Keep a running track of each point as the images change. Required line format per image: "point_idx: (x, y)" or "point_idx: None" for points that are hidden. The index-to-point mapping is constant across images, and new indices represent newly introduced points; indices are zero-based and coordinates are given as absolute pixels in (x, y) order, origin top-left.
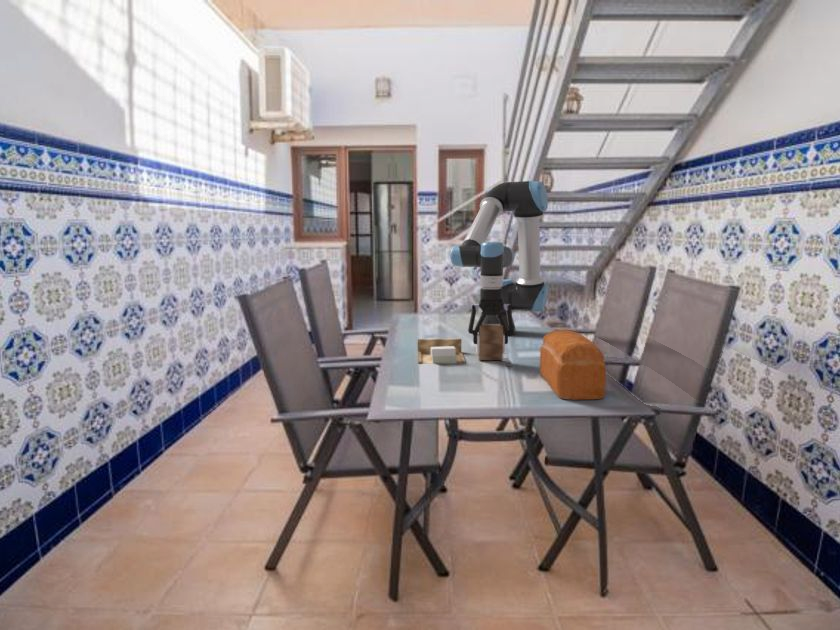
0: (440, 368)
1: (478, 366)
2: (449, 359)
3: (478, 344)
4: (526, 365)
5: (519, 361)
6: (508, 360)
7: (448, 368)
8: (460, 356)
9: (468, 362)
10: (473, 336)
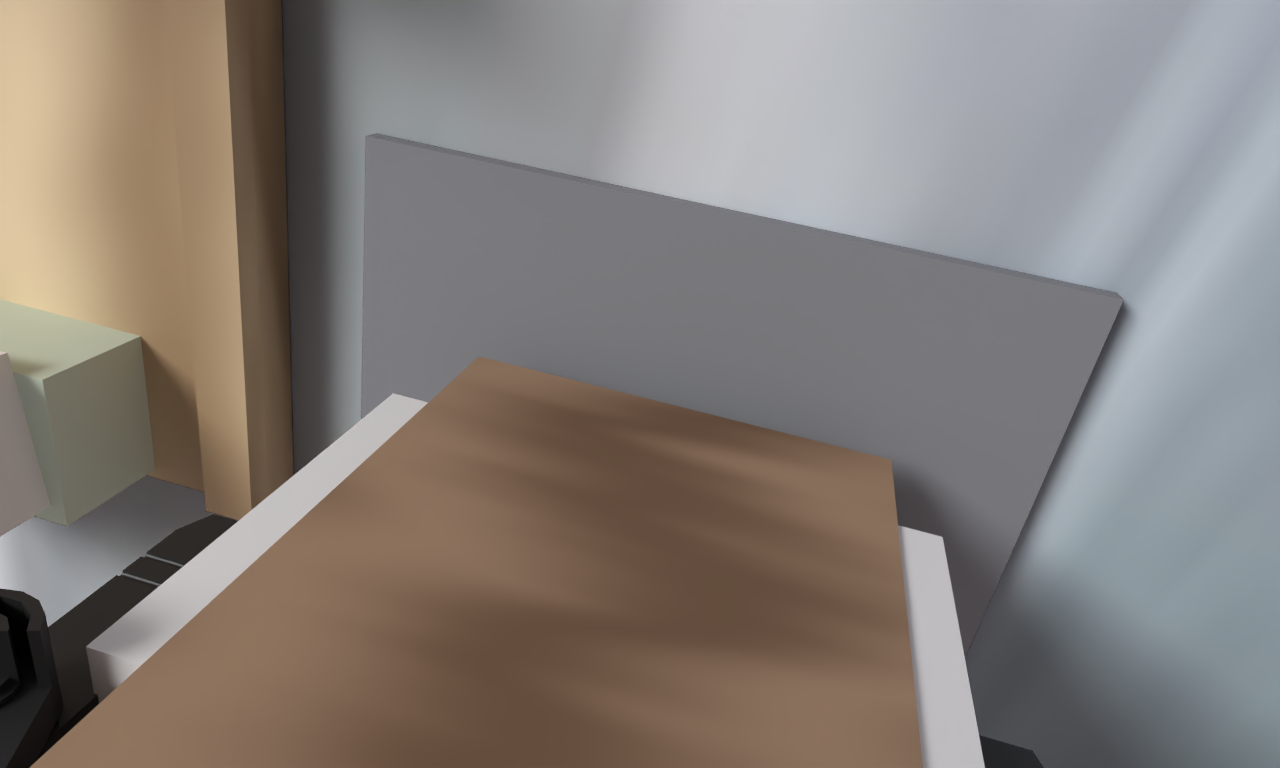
0: None
1: None
2: None
3: None
4: (1187, 729)
5: (1240, 505)
6: (1025, 475)
7: (99, 514)
8: (189, 225)
9: (356, 323)
10: (56, 655)
